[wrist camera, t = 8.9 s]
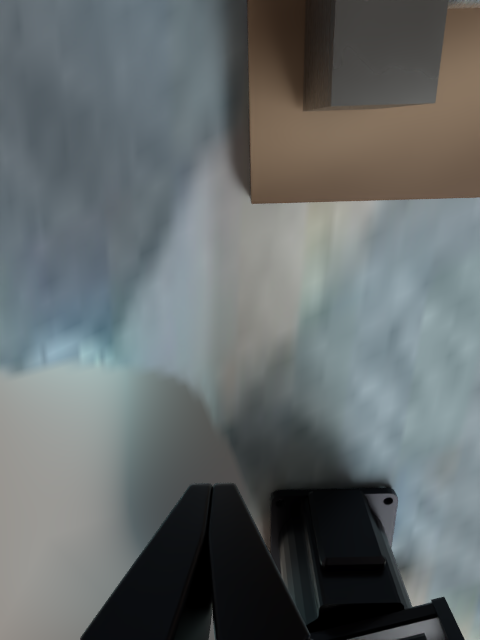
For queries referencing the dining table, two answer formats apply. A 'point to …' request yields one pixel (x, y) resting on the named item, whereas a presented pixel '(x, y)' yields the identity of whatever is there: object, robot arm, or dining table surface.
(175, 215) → the dining table surface
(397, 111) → the gauge base
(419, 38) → the grey block with rod
